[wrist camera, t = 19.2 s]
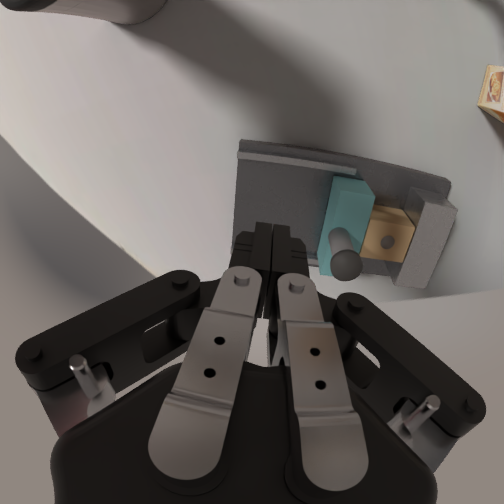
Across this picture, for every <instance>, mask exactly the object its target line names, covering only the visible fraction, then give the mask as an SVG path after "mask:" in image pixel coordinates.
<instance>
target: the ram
mask: <svg viewBox="0 0 504 504" xmlns="http://www.w3.org/2000/svg"><path fill="white" fill-rule="evenodd" d="M374 200H375V195H374V194H373V192H372V191H371V189H370V188H369V186H368V185H367V183H366V182H365V181H362V180H356V179H351V178H345V177H340V176H334V177H333V182H332V187H331V192H330V197H329V202H328V206H327V211H326V216H325V220H324V225H323V229H322V234H321V238H320V242H319V247H318V251H317V256H318V263H319V271H320V275H327V276H334V277H335V278H336V279H338V280H340V281H350V280H353V279H355V278H356V277H358V276H359V275H360V273H361V272H362V269H363V263H362V260H361V257H360V255H359V252H360V249H361V246H362V242H363V239H364V236H365V232H366V229H367V225H368V222H369V218H370V215H371V211H372V208H373V204H374Z"/></svg>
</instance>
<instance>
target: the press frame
mask: <svg viewBox="0 0 504 504" xmlns="http://www.w3.org/2000/svg"><path fill="white" fill-rule="evenodd" d="M237 158H238V167H237V180H236V194H235V208H234V222H233V237H232V246H231V256H232V252H233V248H234V244H235V240H236V236H237V235H238V234H239V233H241V232H242V231H249V232H255V225H256V221H257V222H264V223H271V224H272V229H273V224H279V225H286V226H290V235H291V237H293V238H300V239H301V240H302V241H303V243H304V244H305V245H306V252H307V253H306V254H307V260H308V266H314V267H319V263H318V256H317V251H318V247H319V242H320V238H321V234H322V229H323V225H324V220H325V216H326V211H327V206H328V202H329V197H330V192H331V187H332V182H333V177H334V176H340V177H345V178H351V179H356V180H362V181H365V182H366V183H367V185H368V186H369V188H370V189H371V191H372V192H373V194H374V195H375V200H374V204H375V205H380V206H385V207H391V208H396V209H401V210H403V211H404V213H405V214H406V215H407V217H408V218H409V220H410V221H411V222H412V224H413V225H414V226H415V230H414V233H413V236H412V239H411V241H410V244H409V247H408V249H407V252H406V255H405V257H404V260H403V262H402V263H401V262H394V261H387V260H379V259H372V258H365V257H361V260H362V263H363V269H362V272H361V273H369V274H377V275H385V276H391V279H392V281H393V283H394V285H395V286H404V287H413V288H422V289H425V288H426V286H427V284H428V281H429V279H430V277H431V275H432V273H433V271H434V268H435V266H436V264H437V262H438V259H439V257H440V255H441V252H442V250H443V248H444V245H445V243H446V240H447V238H448V235H449V233H450V230H451V228H452V225H453V222H454V219H455V217H456V214H457V211H458V210H457V209H456V208H455V207H454V206H453V205H452V204H451V203H450V202H449V201H448V200H447V199H446V197H447V194H448V191H449V187H450V184H451V182H450V181H449V180H448V179H446V178H443V177H440V176H436V175H433V174H429V173H426V172H422V171H418V170H414V169H410V168H406V167H402V166H398V165H394V164H390V163H386V162H381V161H377V160H372V159H367V158H363V157H358V156H353V155H347V154H342V153H337V152H331V151H325V150H319V149H313V148H307V147H300V146H293V145H286V144H279V143H271V142H262V141H253V140H243V139H241V140H240V142H239V150H238V153H237Z"/></svg>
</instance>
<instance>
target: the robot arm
mask: <svg viewBox="0 0 504 504" xmlns="http://www.w3.org/2000/svg"><path fill="white" fill-rule="evenodd" d="M0 2H1V3H2V5H3V6H4V7H6V8H7V9H10V10H13V11H28V12H46V13H59V14H68V15H75V16H82V17H89V18H95V19H101V20H106V21H110V22H115V23H120V24H128V25H130V24H137V23H140V22H143V21H145V20H147V19H149V18H150V17H152V16H153V15H154V14H156V13H157V12H158V11H159V10H160V9H161V7H162V6H163V5H164V3H165V2H166V0H0ZM306 253H307V252H306V245H305V244H304V243H303V241H302V240H301V239H300V238H293V237H291V235H290V226H286V225H279V224H273V229H272V224H271V223H264V222H257V221H256V225H255V232H249V231H242V232H241V233H239V234H238V235H237V236H236V240H235V244H234V248H233V252H232V256H231V260H230V264H229V268H228V269H227V270H226V271H225V272H224V273H223V275H222V278H220V279H217V280H213V281H205V282H200V279H199V277H198V276H197V275H196V274H194V273H193V272H190V271H187V270H174V271H171V272H168V273H166V274H164V275H162V276H160V277H157V278H155V279H153V280H151V281H149V282H147V283H145V284H143V285H140V286H138V287H136V288H134V289H132V290H130V291H128V292H125V293H123V294H121V295H119V296H117V297H115V298H113V299H111V300H109V301H106V302H104V303H102V304H100V305H98V306H96V307H94V308H92V309H90V310H88V311H85V312H84V313H81V314H79V315H77V316H75V317H73V318H71V319H69V320H67V321H65V322H63V323H61V324H58V325H56V326H54V327H52V328H50V329H48V330H46V331H44V332H42V333H40V334H38V335H36V336H34V337H32V338H30V339H28V340H26V341H25V342H23V343H22V344H21V345H20V347H19V348H18V350H17V352H16V357H15V361H16V365H17V367H18V368H19V370H20V371H21V373H22V374H23V375H24V377H25V378H26V380H27V382H28V384H29V386H30V387H31V388H32V390H33V391H34V392H35V394H36V395H37V396H38V397H39V399H40V400H41V403H42V405H43V407H44V409H45V411H46V413H47V415H48V417H49V419H50V421H51V423H52V425H53V427H54V429H55V431H56V433H57V435H58V436H59V439H58V441H57V442H56V444H55V446H54V448H53V451H52V454H51V460H50V463H51V464H50V469H51V475H52V480H53V485H54V492H55V493H54V494H55V504H436V500H437V492H438V490H437V483H436V479H435V476H434V474H433V473H434V472H435V471H436V470H437V468H438V467H439V466H440V464H441V463H442V462H443V460H444V458H445V457H446V456H447V455H448V453H449V452H450V450H451V449H452V448H453V446H454V445H455V443H456V442H457V441H458V440H459V439H460V438H462V437H463V436H464V435H465V434H466V433H468V432H469V431H470V430H471V429H473V428H474V427H475V426H476V425H478V424H479V423H480V422H481V421H482V420H483V419H484V417H485V414H486V405H485V402H484V400H483V398H482V397H481V395H480V394H479V393H478V392H477V391H475V390H474V389H473V388H472V387H471V386H470V385H469V384H468V383H466V382H465V381H464V380H463V379H462V378H461V377H460V376H459V375H457V374H456V373H455V372H454V371H453V370H452V369H450V368H449V367H448V366H447V365H446V364H445V363H443V362H442V361H441V360H440V359H439V358H438V357H437V356H435V355H434V354H433V353H432V352H431V351H429V350H428V349H427V348H426V347H425V346H424V345H422V344H421V343H420V342H419V341H418V340H417V339H415V338H414V337H413V336H412V335H411V334H409V333H408V332H407V331H406V330H405V329H403V328H402V327H401V326H400V325H399V324H397V323H396V322H395V321H394V320H392V319H391V318H390V317H389V316H387V315H386V314H385V313H384V312H383V311H381V310H380V309H379V308H378V307H377V306H375V305H374V304H373V303H372V302H370V301H369V300H368V299H367V298H365V297H364V296H362V295H360V294H357V293H351V292H347V293H343V294H341V295H339V296H338V298H337V300H336V299H333V298H330V297H327V296H325V295H323V294H321V293H319V292H318V291H317V290H316V286H315V284H314V282H313V281H312V280H311V279H310V276H309V267H308V260H307V254H306ZM263 306H264V312H263ZM262 312H263V318H264V319H269V326H268V330H267V356H268V357H267V359H268V367H262V366H258V365H255V364H252V363H249V362H247V359H248V355H249V350H250V345H251V341H252V336H253V331H254V328H255V327H256V323H257V318H261V317H262ZM164 320H165V321H164ZM162 321H164V322H163V323H161V324H159V325H157V326H155V327H153V326H154V325H156V324H158V323H160V322H162ZM151 327H153V328H152V329H150V330H148V331H146V330H147V329H149V328H151ZM145 331H146V332H145ZM358 342H360V343H361V344H362V345H363V346H364V347H365V348H366V349H367V350H369V352H370V353H372V354H373V355H374V356H375V357H376V358H377V359H378V361H379V363H380V369H379V368H378V367H377V366H376V365H375V364H374V363H373V362H372V361H371V360H370V359H369V358H367V357H366V356H365V355H364V354H363V353H362V352H361V351H360V350H359V349H358V348H356V346H357V344H358ZM186 351H187V353H186V355H185V358H184V361H183V362H182V363H178V364H175V365H172V366H170V367H168V368H166V369H164V370H163V371H161V372H159V373H158V374H156V375H155V376H153V377H152V378H150V379H149V380H147V381H146V382H144V383H142V384H141V385H139V386H138V387H136V388H135V389H133V390H132V391H130V392H129V393H127V394H126V395H124V396H123V397H121V398H119V399H118V400H116V401H115V397H116V393H118V392H120V391H122V390H123V389H125V388H127V387H128V386H130V385H132V384H133V383H135V382H137V381H139V380H140V379H142V378H144V377H145V376H147V375H149V374H150V373H152V372H153V371H155V370H157V369H159V368H160V367H162V366H163V365H165V364H167V363H168V362H170V361H172V360H173V359H175V358H176V357H178V356H180V355H181V354H183V353H184V352H186Z"/></svg>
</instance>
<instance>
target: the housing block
mask: <svg viewBox="0 0 504 504" xmlns="http://www.w3.org/2000/svg"><path fill="white" fill-rule="evenodd" d="M414 230H415V226H414V225H413V224H412V222H411V221H410V220H409V218H408V217H407V215H406V214H405V213H404V211H403V210H401V209H396V208H391V207H385V206H380V205H375V204H373V208H372V211H371V215H370V218H369V222H368V225H367V229H366V232H365V236H364V239H363V242H362V246H361V249H360V252H359V255H360V257H365V258H372V259H379V260H387V261H394V262H401V263H402V262H403V260H404V257H405V255H406V252H407V249H408V247H409V244H410V241H411V239H412V236H413V233H414Z"/></svg>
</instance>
